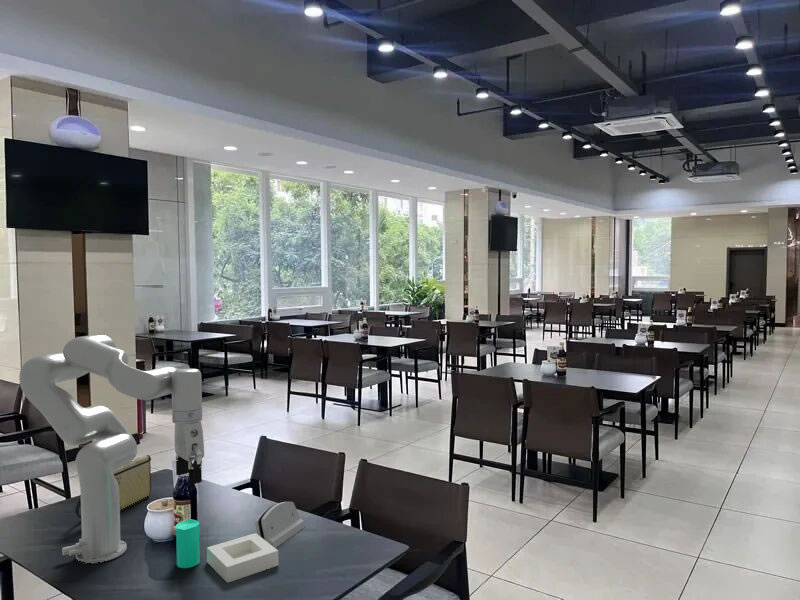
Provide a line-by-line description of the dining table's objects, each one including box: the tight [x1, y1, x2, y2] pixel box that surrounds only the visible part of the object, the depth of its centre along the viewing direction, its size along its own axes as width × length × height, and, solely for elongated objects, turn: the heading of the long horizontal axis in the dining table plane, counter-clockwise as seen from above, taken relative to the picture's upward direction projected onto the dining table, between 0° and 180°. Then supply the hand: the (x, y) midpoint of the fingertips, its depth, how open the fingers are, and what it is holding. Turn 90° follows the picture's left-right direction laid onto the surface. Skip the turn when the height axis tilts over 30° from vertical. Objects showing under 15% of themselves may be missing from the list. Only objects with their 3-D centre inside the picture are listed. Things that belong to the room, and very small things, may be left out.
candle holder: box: [206, 532, 279, 584], centre depth 153 cm, size 14×14×4 cm
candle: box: [175, 518, 201, 569], centre depth 154 cm, size 6×6×12 cm
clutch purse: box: [75, 454, 152, 519], centre depth 191 cm, size 30×7×15 cm, turn 163°
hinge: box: [254, 501, 306, 549], centre depth 171 cm, size 17×5×10 cm, turn 156°
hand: (188, 478), depth 154 cm, fingers open, 9 cm apart
